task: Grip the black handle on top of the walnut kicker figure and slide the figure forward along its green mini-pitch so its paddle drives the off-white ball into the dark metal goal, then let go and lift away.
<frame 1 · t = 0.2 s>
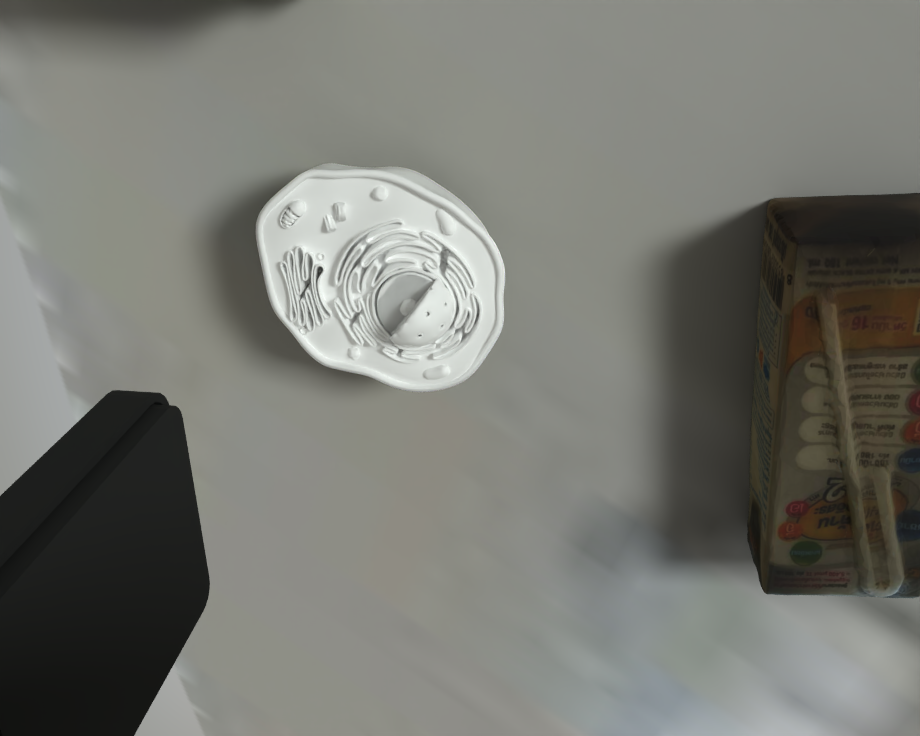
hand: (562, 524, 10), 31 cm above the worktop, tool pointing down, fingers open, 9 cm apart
beverage carton: (828, 373, 42), on the worktop
cell model: (399, 248, 42), on the worktop
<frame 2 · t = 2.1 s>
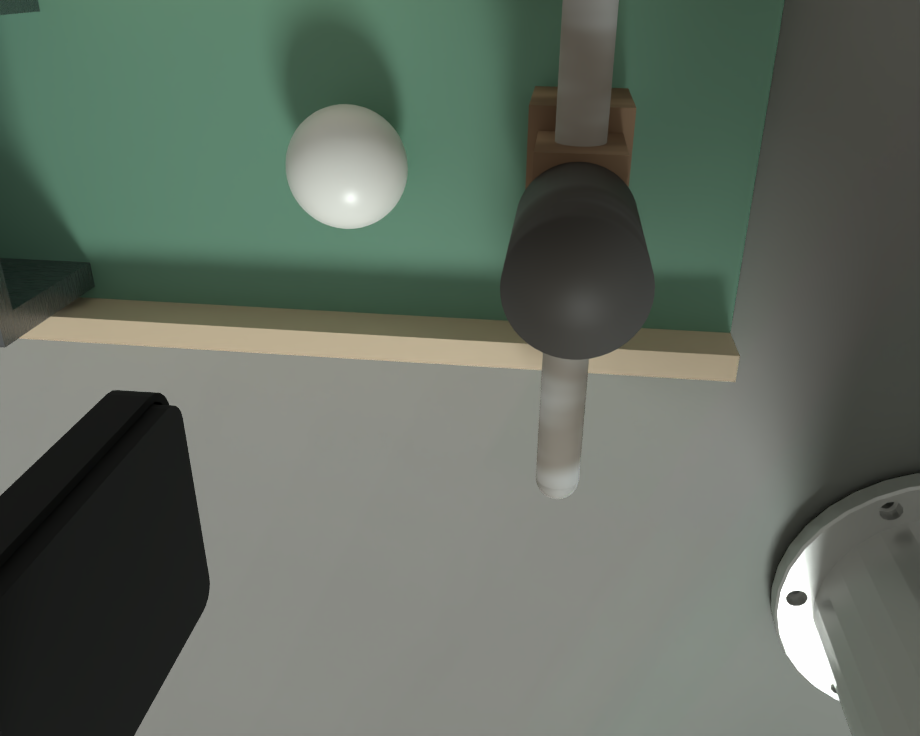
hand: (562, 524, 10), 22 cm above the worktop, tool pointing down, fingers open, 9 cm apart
goal: (3, 142, 31), resting on pitch
pitch: (328, 146, 30), on the worktop
ball: (347, 167, 27), point 3 cm above the worktop, touching pitch
kicker: (576, 212, 23), point 8 cm above the worktop, slide at 0.0 cm
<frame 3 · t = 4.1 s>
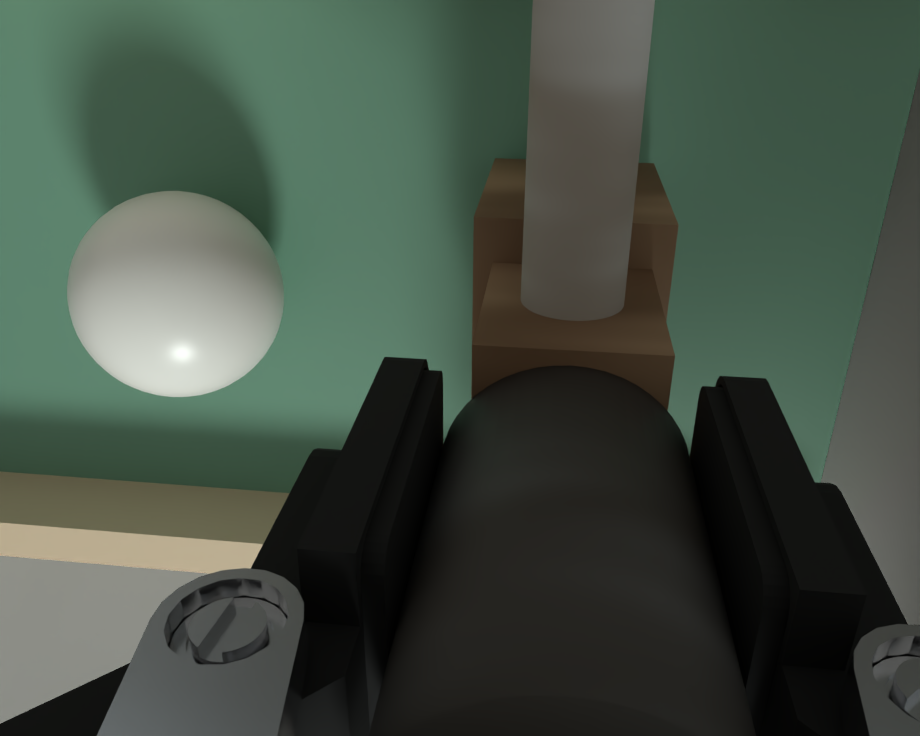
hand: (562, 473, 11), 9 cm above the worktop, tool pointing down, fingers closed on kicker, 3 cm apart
pitch: (175, 241, 19), on the worktop
ball: (179, 295, 16), point 3 cm above the worktop, touching pitch
kicker: (563, 436, 12), point 8 cm above the worktop, slide at 0.0 cm, touching gripper
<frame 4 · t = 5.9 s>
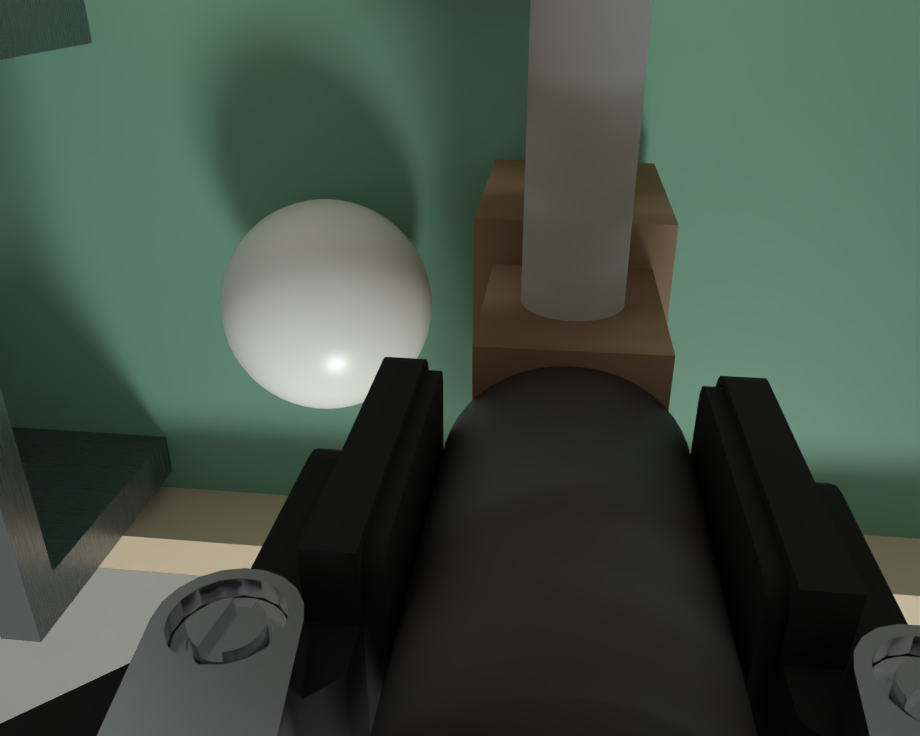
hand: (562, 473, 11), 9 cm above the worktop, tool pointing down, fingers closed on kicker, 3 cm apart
goal: (26, 257, 19), resting on pitch
pitch: (567, 259, 18), on the worktop
ball: (328, 304, 16), point 3 cm above the worktop, tilted 171°, touching pitch
kicker: (565, 437, 12), point 8 cm above the worktop, slide at 9.0 cm, touching gripper
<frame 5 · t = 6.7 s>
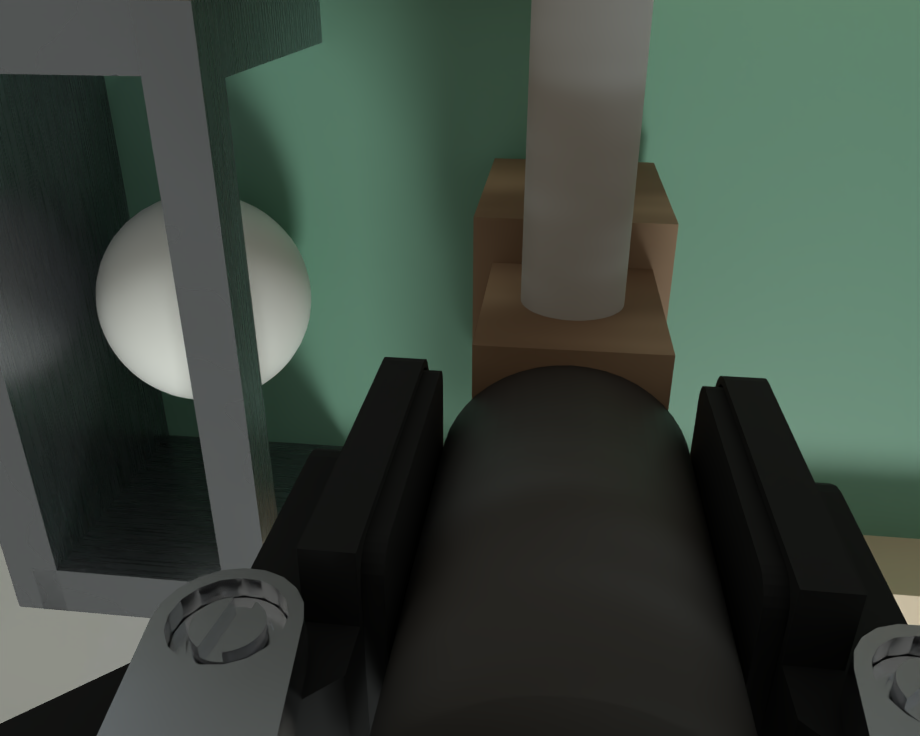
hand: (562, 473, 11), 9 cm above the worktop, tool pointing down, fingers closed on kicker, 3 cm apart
goal: (225, 262, 18), resting on pitch
pitch: (783, 266, 18), on the worktop
ball: (207, 297, 16), point 3 cm above the worktop, tilted 13°, touching pitch
kicker: (564, 436, 12), point 8 cm above the worktop, slide at 13.7 cm, touching gripper
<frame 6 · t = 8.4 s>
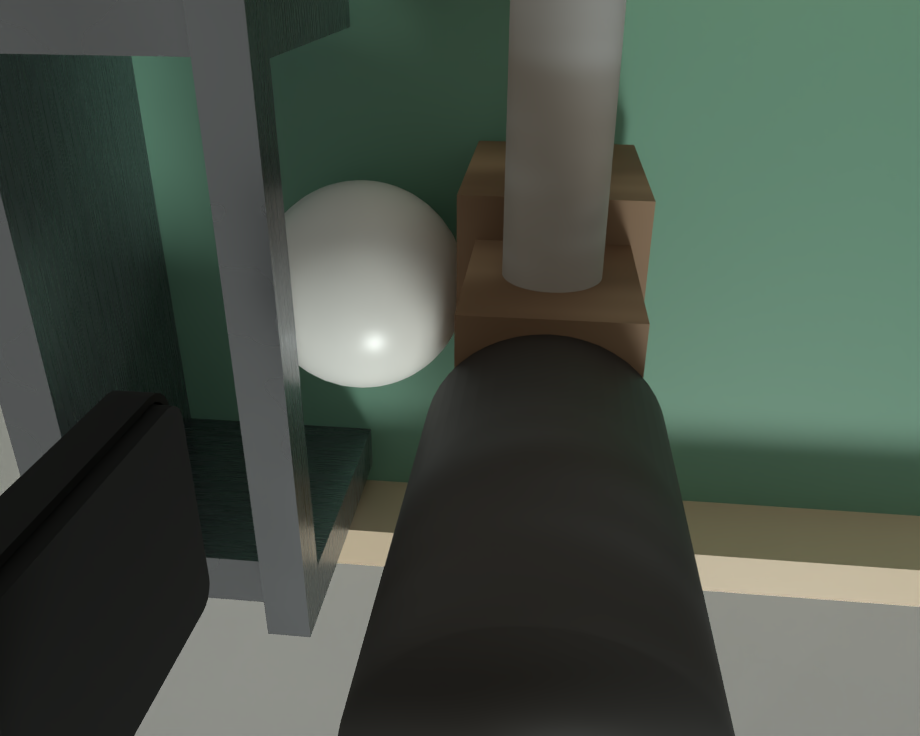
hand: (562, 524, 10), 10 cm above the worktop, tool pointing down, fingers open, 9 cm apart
goal: (249, 246, 18), resting on pitch
pitch: (799, 249, 18), on the worktop
ball: (363, 285, 16), point 3 cm above the worktop, tilted 60°, touching pitch
kicker: (544, 406, 12), point 8 cm above the worktop, slide at 14.5 cm
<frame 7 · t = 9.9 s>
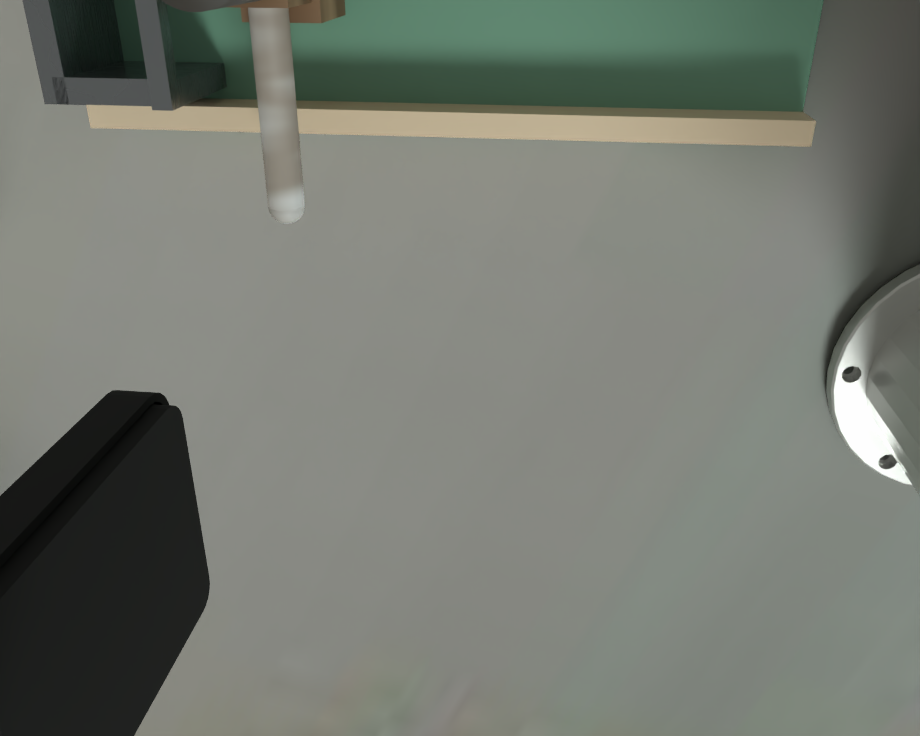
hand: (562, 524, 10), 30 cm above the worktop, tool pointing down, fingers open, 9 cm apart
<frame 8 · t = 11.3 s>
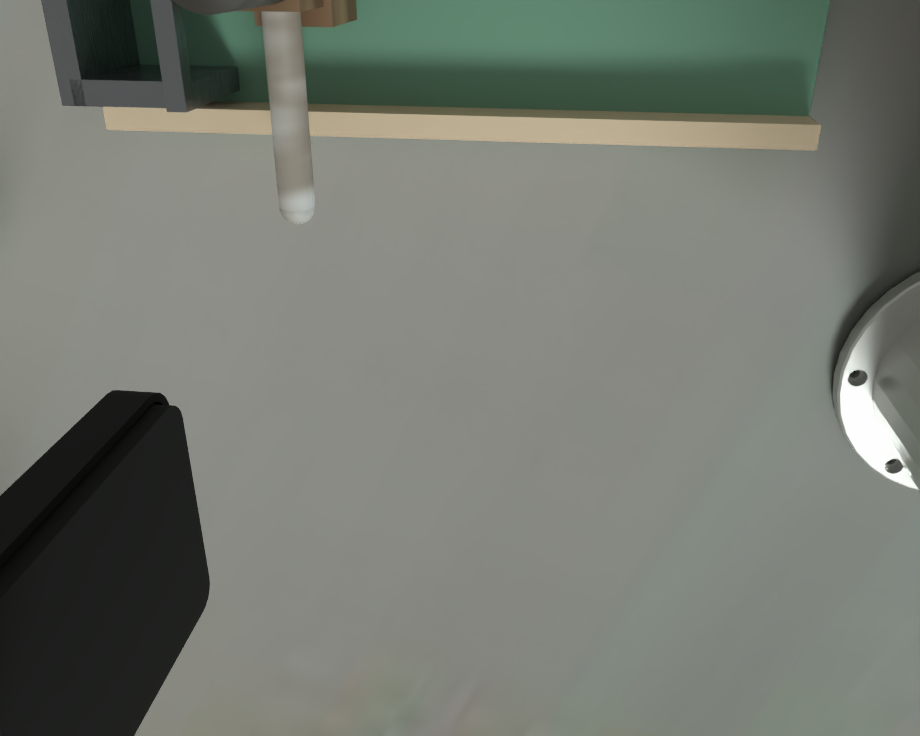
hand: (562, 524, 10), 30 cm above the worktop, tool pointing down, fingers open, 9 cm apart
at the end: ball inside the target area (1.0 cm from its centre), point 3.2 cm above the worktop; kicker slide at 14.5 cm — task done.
